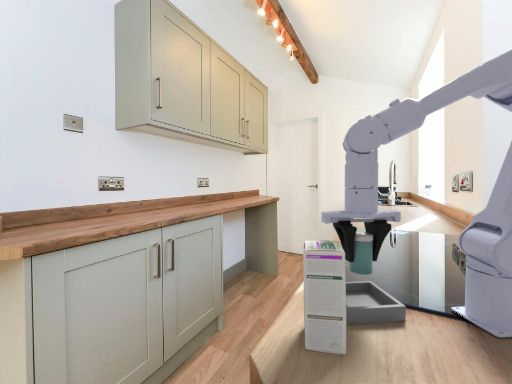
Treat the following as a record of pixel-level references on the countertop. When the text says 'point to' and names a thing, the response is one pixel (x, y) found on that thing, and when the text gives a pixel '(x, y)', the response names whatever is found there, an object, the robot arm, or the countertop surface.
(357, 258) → the shaker
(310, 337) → the syrup box
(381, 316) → the tray
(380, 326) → the countertop surface
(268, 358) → the countertop surface
